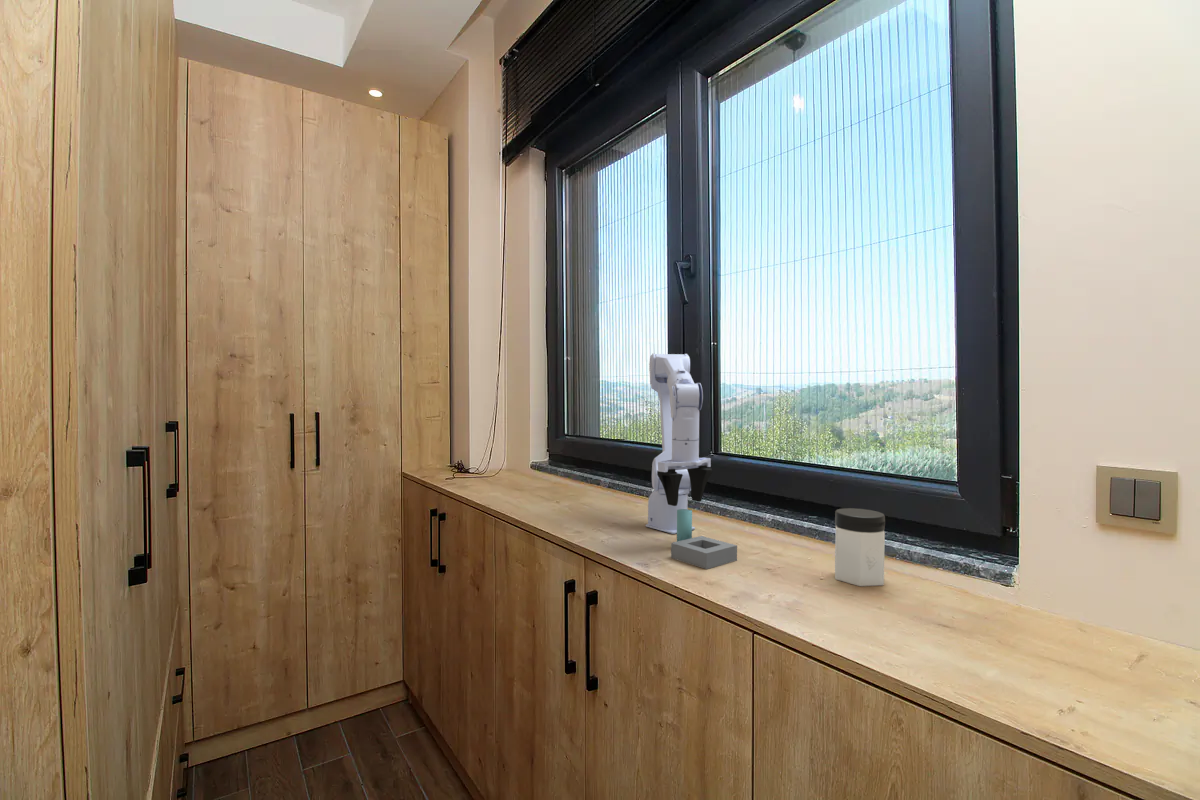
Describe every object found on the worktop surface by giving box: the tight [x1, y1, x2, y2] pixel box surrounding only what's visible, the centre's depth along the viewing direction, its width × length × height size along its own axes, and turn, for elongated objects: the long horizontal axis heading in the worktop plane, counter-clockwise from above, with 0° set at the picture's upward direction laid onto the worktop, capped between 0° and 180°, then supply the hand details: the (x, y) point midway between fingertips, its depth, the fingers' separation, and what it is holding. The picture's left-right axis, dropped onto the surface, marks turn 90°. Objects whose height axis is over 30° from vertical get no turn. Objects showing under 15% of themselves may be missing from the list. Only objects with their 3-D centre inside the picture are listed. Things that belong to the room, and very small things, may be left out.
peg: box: [676, 508, 693, 542], centre depth 121 cm, size 3×3×8 cm
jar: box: [834, 507, 886, 587], centre depth 102 cm, size 9×8×12 cm
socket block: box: [670, 535, 738, 570], centre depth 113 cm, size 9×9×3 cm
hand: (684, 503), depth 121 cm, fingers open, 7 cm apart
